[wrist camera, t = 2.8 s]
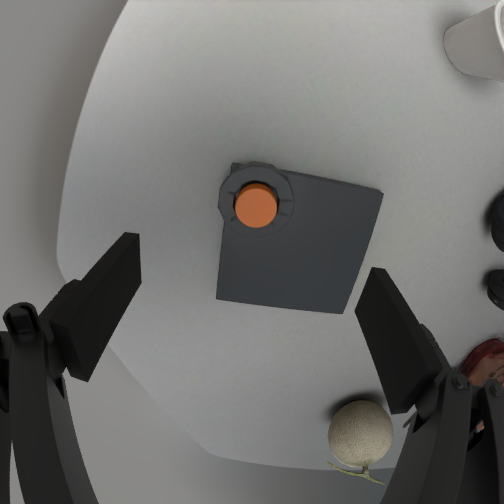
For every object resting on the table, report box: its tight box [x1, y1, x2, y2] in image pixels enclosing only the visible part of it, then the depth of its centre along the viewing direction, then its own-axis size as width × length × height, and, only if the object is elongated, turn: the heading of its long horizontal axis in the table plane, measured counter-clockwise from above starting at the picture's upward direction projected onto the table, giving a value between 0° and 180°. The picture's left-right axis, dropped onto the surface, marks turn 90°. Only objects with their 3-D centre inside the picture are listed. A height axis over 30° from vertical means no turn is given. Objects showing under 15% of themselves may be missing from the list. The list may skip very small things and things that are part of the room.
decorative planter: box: [461, 339, 504, 430], centre depth 32 cm, size 20×12×14 cm, turn 103°
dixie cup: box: [444, 0, 504, 82], centre depth 13 cm, size 8×8×10 cm
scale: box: [216, 162, 384, 314], centre depth 27 cm, size 15×14×3 cm
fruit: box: [327, 400, 393, 485], centre depth 35 cm, size 10×12×15 cm
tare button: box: [235, 183, 277, 228], centre depth 23 cm, size 3×3×2 cm
